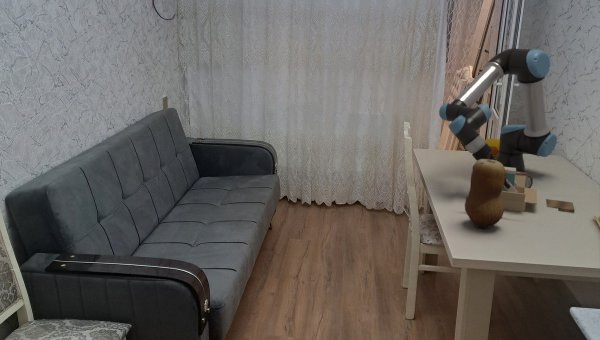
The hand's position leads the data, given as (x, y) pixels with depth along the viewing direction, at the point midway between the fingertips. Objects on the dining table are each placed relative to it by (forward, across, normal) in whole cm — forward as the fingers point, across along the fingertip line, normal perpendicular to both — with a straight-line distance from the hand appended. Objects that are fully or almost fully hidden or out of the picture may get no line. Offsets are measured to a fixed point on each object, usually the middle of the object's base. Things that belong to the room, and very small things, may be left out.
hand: (515, 190), depth 213 cm
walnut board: (+17, -5, +8) cm, 19 cm away
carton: (+2, 0, -7) cm, 7 cm away
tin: (+4, -22, -5) cm, 23 cm away
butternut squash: (-3, +30, -12) cm, 32 cm away
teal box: (+1, 0, -6) cm, 6 cm away
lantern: (-4, -82, -13) cm, 83 cm away
